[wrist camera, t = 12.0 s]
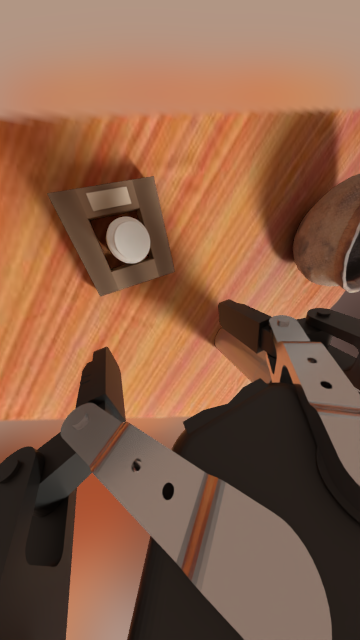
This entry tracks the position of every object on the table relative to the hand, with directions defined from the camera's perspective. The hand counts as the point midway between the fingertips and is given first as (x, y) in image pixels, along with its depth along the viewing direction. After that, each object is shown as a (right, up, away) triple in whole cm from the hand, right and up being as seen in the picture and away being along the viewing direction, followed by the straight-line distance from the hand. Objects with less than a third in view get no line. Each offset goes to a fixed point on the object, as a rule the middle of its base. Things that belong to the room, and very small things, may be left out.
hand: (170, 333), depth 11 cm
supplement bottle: (-8, +14, +15) cm, 22 cm away
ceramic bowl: (+34, +23, +31) cm, 51 cm away
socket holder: (-9, +14, +15) cm, 22 cm away
